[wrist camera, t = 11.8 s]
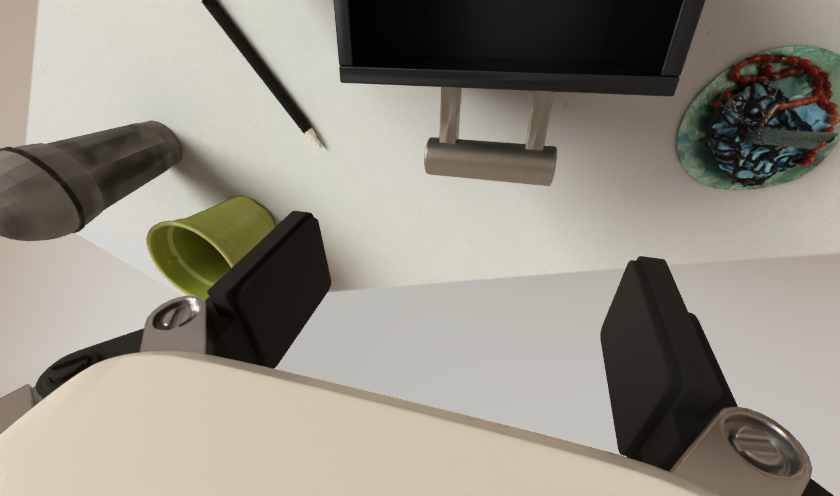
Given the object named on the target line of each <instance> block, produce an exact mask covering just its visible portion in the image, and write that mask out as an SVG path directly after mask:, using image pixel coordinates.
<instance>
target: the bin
mask: <svg viewBox="0 0 840 496" xmlns="http://www.w3.org/2000/svg"><path fill="white" fill-rule="evenodd" d="M704 3H705V0H334V10H335V21H336V33H337V44H338V56H339V65H340V67H339V69H340V81H341V82H342V83H362V84H386V85H409V86H433V87H441V109H440V135H439V138H434V137H431V138H429V140H428V142H427V145H426V149H425V158H424V165H425V171H426V173H427V174H431V175H441V176H451V177H461V178H472V179H482V180H492V181H503V182H513V183H523V184H533V185H544V186H550V185H551V183H552V180H553V177H554V172H555V167H556V160H557V147H555V146H544V145H545V139H546V133H547V128H548V122H549V117H550V111H551V106H552V100H553V94H554V92H576V93H600V94H624V95H648V96H674V93H675V90H676V87H677V84H678V81H679V77H678V76H680V75H681V72H682V69H683V66H684V63H685V60H686V57H687V54H688V51H689V48H690V45H691V42H692V39H693V36H694V33H695V30H696V27H697V24H698V21H699V18H700V15H701V12H702V9H703V6H704ZM462 88H481V89H505V90H529V91H534V93H533V100H532V106H531V113H530V119H529V126H528V132H527V139H526V144H515V143H501V142H488V141H474V140H461V139H458V136H459V120H460V104H461V89H462Z"/></svg>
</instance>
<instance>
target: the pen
mask: <svg viewBox="0 0 840 496" xmlns="http://www.w3.org/2000/svg"><path fill="white" fill-rule="evenodd" d="M199 2H200V3H201V2H202V3H203V4H204V6H205V7H206V8H207V9H208V11H209V12H210V13H211V15H212V16H213V17H214V18H215V20H216V21H217V22H218V24H219V25H220V26H221V27H222V29H223V30H224V31H225V33H226V34H227V35H228V36H229V38H230V39H231V40H232V42H233V43H234V44H235V45H236V47H237V48H238V49H239V51H240V52H241V53H242V55H243V56H244V57H245V58H246V60H247V61H248V62H249V64H250V65H251V66H252V67H253V69H254V70H255V71H256V73H257V74H258V75H259V76H260V78H261V79H262V80H263V82H264V83H265V84H266V85H267V87H268V88H269V89H270V91H271V92H272V93H273V94H274V96H275V97H276V98H277V100H278V101H279V102H280V103H281V105H282V106H283V107H284V109H285V110H286V111H287V112H288V114H289V115H290V116H291V118H292V119H293V120H294V121H295V123H296V124H297V125H298V127H299V128H300V129H301V130H302V132H303V133H304V134H305V135H306V136H307V137H308V138H309V139H311V140H312V141H313V142H314V143H315V144H316V145H317V146H318V147H320V148H321V146H320V145H321V144H320V142H319V140H318V138H317V136H316V134H315V132H314V130H313V128H312V127H311V125H310V124H309V123H308V122H307V120H306V119H305V118H304V116H303V115H302V114H301V112H300V111H299V110H298V108H297V107H296V106H295V104H294V103H293V102H292V101H291V99H290V98H289V97H288V95H287V94H286V93H285V91H284V90H283V89H282V87H281V86H280V85H279V83H278V82H277V81H276V80H275V78H274V77H273V76H272V74H271V73H270V72H269V70H268V69H267V68H266V66H265V65H264V64H263V62H262V61H261V60H260V59H259V57H258V56H257V55H256V53H255V52H254V51H253V49H252V48H251V47H250V45H249V44H248V43H247V41H246V40H245V39H244V38H243V36H242V35H241V34H240V32H239V31H238V30H237V28H236V27H235V26H234V24H233V23H232V22H231V21H230V19H229V18H228V17H227V15H226V14H225V13H224V11H223V10H222V9H221V7H220V6H219V5H218V3H217V2H216V1H215V0H199Z"/></svg>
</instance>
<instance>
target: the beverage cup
mask: <svg viewBox="0 0 840 496" xmlns="http://www.w3.org/2000/svg"><path fill="white" fill-rule="evenodd" d="M181 158H182V149H181V146H180V143H179V141H178V140H177V138H176V136H175V135H174V134H173V133H172V132H171V130H169V129H168V128H167V127H166V126H164V125H163V124H161V123H159V122H156V121H148V122H144V123H139V124H138V123H135V124H131V125H127V126H122V127H118V128H113V129H109V130H105V131H100V132H96V133H92V134H87V135H83V136H78V137H74V138H70V139H65V140H61V141H56V142H52V143H48V144H43V143H39V144H31V145H23V146H19V147H15V148H12V147H5V148H1V149H0V236H2V237H6V238H9V239H15V240H21V241H38V240H49V239H55V238H59V237H62V236H66V235H68V234H70V233H75V232H79V231H80V230H82V229H83V228H84V227H85V225H86V224H88V223H89V222H90V221H92V220H93V219H94V218H95V217H97V216H98V215H99V214H100V213H101V212H102V211H103V210H105V209H106V208H108V207H109V206H111V205H113V204H114V203H116V202H117V201H119V200H121V199H122V198H124V197H125V196H127V195H129V194H130V193H132V192H133V191H135V190H137V189H138V188H140V187H141V186H143V185H144V184H146V183H148V182H149V181H151V180H152V179H154V178H156V177H157V176H159V175H160V174H162V173H164V172H165V171H167V170H168V169H169V168H170V167H172V166H173V165H174V164H177V163H178V162H179V161H180V160H181Z"/></svg>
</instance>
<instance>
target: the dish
mask: <svg viewBox="0 0 840 496" xmlns="http://www.w3.org/2000/svg"><path fill="white" fill-rule="evenodd" d="M839 140H840V56H839V55H837V54H835V53H833V52H831V51H828V50H825V49H822V48H817V47H810V46H789V47H781V48H776V49H772V50H768V51H765V52H761V53H759V54H756V57H754V58H750V59H748V58H746V59H745V61H744V62H743V63H741V64H740V65H737V66H732V67H730V68H728V69H727V70H726V71H724V72H723V73H722V74H720V75H719V76H718V77H717V78H716V79H714V80H713V81H712V82H711V83H710V84H709V85H708V86H707V87H706V88H705V89H703V90H702V92H701V93H700V94H699V95H698V96H697V97H696V99H695V100H694V101H693V103H692V104H691V105H690V107H689V108H688V110H687V112H686V114H685V116H684V119H683V121H682V123H681V126H680V129H679V133H678V140H677V150H678V155H679V159H680V161H681V163H682V165H683V167H684V169H685V170H686V171H687V173H688V174H689V175H690V176H691V177H692V178H694V179H695V180H696V181H698V182H699V183H701V184H703V185H706V186H710V187H715V188H720V189H724V190H726V189H727V190H745V189H756V188H761V187H765V186H766V187H767V186H769V185H776V184H780V183H783V182H788V181H790V180H793V179H796V178H797V177H799V176H801V175H803V174H805V173H806V172H808V171H809V170H811V169H812V168H813V167H815V166H817V165H818V164H819V163H820V162H822V161H823V159H824V158H825V157H826V156H827V154H828V153H829V152H830V151H831V150H832V149H833V148H834V146H835V145H836V144H837V142H838V141H839Z"/></svg>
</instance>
